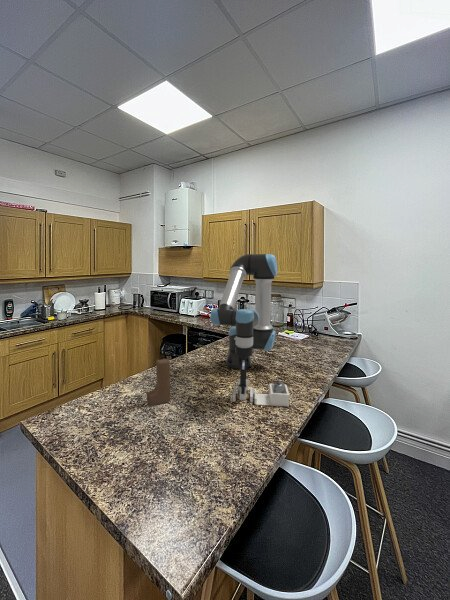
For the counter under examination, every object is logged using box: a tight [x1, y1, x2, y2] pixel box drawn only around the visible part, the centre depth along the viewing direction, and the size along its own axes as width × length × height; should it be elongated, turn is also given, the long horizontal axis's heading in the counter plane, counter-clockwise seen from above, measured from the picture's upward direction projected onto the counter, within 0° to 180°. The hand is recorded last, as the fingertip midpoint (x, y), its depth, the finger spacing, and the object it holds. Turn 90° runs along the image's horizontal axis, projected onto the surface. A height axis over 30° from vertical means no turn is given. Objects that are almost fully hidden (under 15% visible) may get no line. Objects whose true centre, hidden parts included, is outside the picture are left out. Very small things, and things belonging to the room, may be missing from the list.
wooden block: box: [146, 358, 171, 407], centre depth 120 cm, size 9×4×18 cm, turn 121°
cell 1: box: [237, 377, 249, 397], centre depth 122 cm, size 4×4×8 cm
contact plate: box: [236, 392, 250, 400], centre depth 123 cm, size 3×5×2 cm, turn 85°
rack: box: [253, 383, 290, 407], centre depth 121 cm, size 10×14×6 cm
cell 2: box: [273, 380, 285, 394], centre depth 120 cm, size 4×4×8 cm
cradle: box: [232, 386, 254, 403], centre depth 123 cm, size 9×9×4 cm
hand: (242, 397), depth 123 cm, fingers closed on cell 1, 4 cm apart
